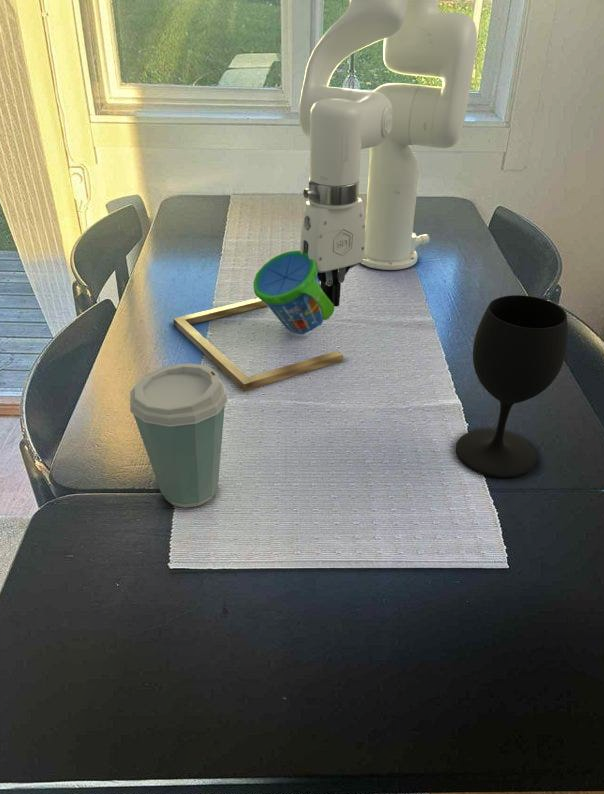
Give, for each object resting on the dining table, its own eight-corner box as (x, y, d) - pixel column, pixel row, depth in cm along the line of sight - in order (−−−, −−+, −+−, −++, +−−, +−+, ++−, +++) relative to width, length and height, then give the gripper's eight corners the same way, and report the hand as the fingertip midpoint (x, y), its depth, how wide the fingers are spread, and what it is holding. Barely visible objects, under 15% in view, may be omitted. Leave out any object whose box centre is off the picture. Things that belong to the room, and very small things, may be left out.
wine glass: (539, 440, 94) (577, 300, 81) (532, 486, 86) (572, 339, 73) (461, 425, 96) (487, 286, 84) (448, 468, 89) (473, 323, 76)
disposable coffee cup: (160, 530, 79) (142, 418, 69) (132, 477, 86) (113, 369, 77) (247, 503, 82) (241, 394, 73) (214, 454, 90) (204, 349, 81)
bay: (263, 302, 126) (263, 296, 125) (342, 361, 110) (343, 354, 109) (173, 324, 118) (172, 318, 118) (244, 391, 102) (243, 384, 101)
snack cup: (258, 322, 121) (232, 278, 113) (301, 283, 123) (279, 237, 115) (312, 358, 112) (288, 312, 104) (358, 315, 113) (338, 267, 105)
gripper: (306, 206, 101) (305, 323, 112) (387, 190, 107) (378, 302, 119) (279, 193, 105) (280, 306, 117) (358, 178, 112) (352, 286, 124)
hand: (330, 304), depth 118 cm, fingers closed
